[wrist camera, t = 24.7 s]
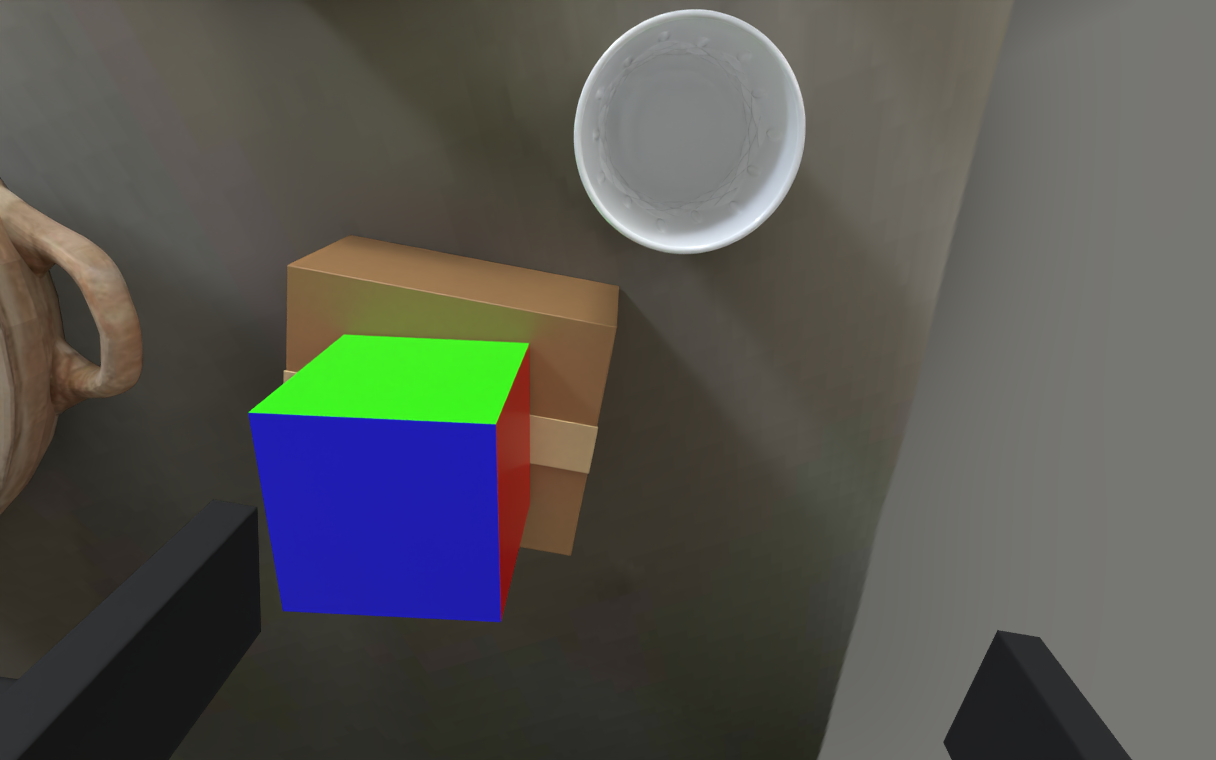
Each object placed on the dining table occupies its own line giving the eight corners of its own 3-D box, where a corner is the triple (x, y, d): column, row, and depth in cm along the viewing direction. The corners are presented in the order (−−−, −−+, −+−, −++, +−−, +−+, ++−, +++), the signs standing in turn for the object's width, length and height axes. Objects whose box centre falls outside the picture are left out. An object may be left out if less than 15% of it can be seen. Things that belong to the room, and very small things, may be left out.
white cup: (740, 15, 31) (788, -21, 22) (767, 191, 34) (819, 226, 24) (570, 61, 32) (547, 45, 22) (610, 229, 35) (604, 276, 25)
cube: (530, 503, 32) (501, 622, 25) (361, 495, 33) (282, 611, 25) (529, 342, 29) (495, 424, 22) (343, 334, 30) (248, 412, 22)
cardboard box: (620, 286, 36) (618, 327, 29) (580, 482, 40) (571, 557, 34) (349, 234, 35) (284, 265, 28) (339, 440, 40) (282, 507, 33)
